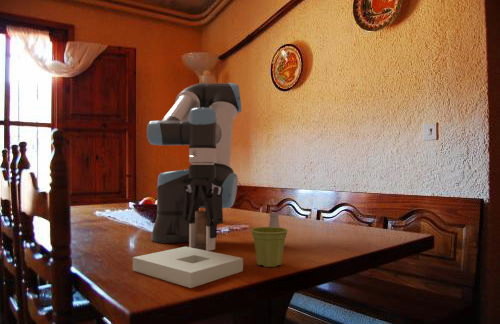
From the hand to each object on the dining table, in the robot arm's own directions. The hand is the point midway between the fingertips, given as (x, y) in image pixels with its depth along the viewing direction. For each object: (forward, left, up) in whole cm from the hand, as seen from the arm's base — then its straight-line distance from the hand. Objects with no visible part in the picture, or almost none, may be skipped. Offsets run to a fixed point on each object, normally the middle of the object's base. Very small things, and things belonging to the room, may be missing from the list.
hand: (201, 248), depth 101 cm
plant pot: (+20, +4, -2) cm, 21 cm away
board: (+9, -13, -2) cm, 16 cm away
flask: (+8, +23, -2) cm, 24 cm away
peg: (0, 0, -2) cm, 2 cm away
